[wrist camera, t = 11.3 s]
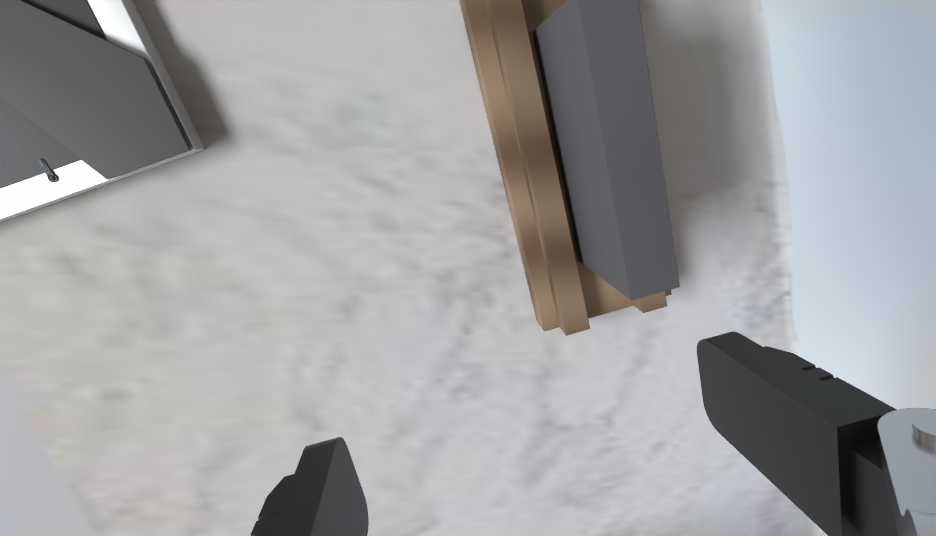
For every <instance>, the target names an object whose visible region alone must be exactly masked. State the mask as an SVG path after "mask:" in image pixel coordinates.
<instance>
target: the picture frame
mask: <svg viewBox="0 0 936 536" xmlns="http://www.w3.org/2000/svg"><path fill="white" fill-rule="evenodd" d="M202 150H205V147H204V145H203V143H202V141H201V139H200V137H199V135H198V133H197V131H196V129H195V127H194V125H193V123H192V121H191V119H190V117H189V115H188V113H187V111H186V108H185V106H184V104H183V102H182V100H181V98H180V96H179V94H178V92H177V90H176V88H175V86H174V84H173V82H172V80H171V78H170V76H169V74H168V72H167V70H166V67H165V65H164V63H163V61H162V59H161V57H160V55H159V53H158V51H157V49H156V47H155V45H154V43H153V41H152V39H151V37H150V35H149V33H148V31H147V28H146V26H145V24H144V22H143V20H142V18H141V16H140V14H139V12H138V10H137V8H136V6H135V4H134V2H133V0H0V223H1V222H3V221H6V220H9V219H12V218H15V217H18V216H20V215H23V214H26V213H29V212H32V211H34V210H37V209H40V208H43V207H46V206H48V205H51V204H54V203H57V202H60V201H62V200H65V199H68V198H71V197H74V196H76V195H79V194H82V193H85V192H88V191H90V190H93V189H96V188H99V187H102V186H104V185H107V184H110V183H113V182H116V181H118V180H121V179H124V178H127V177H130V176H132V175H135V174H138V173H141V172H144V171H146V170H149V169H152V168H155V167H158V166H160V165H163V164H166V163H169V162H172V161H174V160H177V159H180V158H183V157H186V156H188V155H191V154H194V153H197V152H200V151H202Z"/></svg>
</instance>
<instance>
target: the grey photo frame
mask: <svg viewBox="0 0 936 536" xmlns="http://www.w3.org/2000/svg"><path fill="white" fill-rule="evenodd" d="M532 33H533V38H534V43H535V48H536V53H537V58H538V63H539V68H540V73H541V77H542V82H543V87H544V92H545V97H546V102H547V107H548V112H549V117H550V122H551V127H552V131H553V136H554V141H555V146H556V151H557V156H558V161H559V166H560V171H561V176H562V181H563V185H564V190H565V195H566V200H567V205H568V210H569V215H570V220H571V225H572V230H573V234H574V239H575V244H576V249H577V254H578V259H579V261H580V262H581V263H582V264H584V265H585V266H586V267H588V268H589V269H590V270H591V271H593V272H594V273H595V274H597V275H598V276H599V277H601V278H602V279H603V280H605V281H606V282H607V283H609V284H610V285H611V286H613V287H614V288H615V289H616V290H618V291H619V292H620V293H622V294H623V295H624V296H626V297H627V298H628V299H630V300H631V301H632V300H636V299H639V298H643V297H646V296H650V295H653V294H656V293H660V292H663V291H667V290H670V289H674V288H677V287H680V286H679V279H678V272H677V265H676V258H675V251H674V244H673V237H672V231H671V224H670V217H669V210H668V203H667V196H666V189H665V182H664V175H663V168H662V161H661V155H660V148H659V141H658V134H657V127H656V120H655V113H654V106H653V99H652V92H651V86H650V79H649V72H648V65H647V58H646V51H645V44H644V37H643V30H642V23H641V16H640V10H639V3H638V0H567V1H566V2H564V3H563V4H562V5H561V6H560V7H559V8H558V9H557V10H556V11H555V12H553V13H552V14H551V15H550V16H549V17H548V18H547V19H546V20H545V21H544V22H542V23H541V24H540V25H539V26H538V27H537V28H536V29H535V30H534V31H533V32H532Z"/></svg>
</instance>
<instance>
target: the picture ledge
mask: <svg viewBox="0 0 936 536" xmlns="http://www.w3.org/2000/svg"><path fill="white" fill-rule="evenodd" d="M566 1H567V0H459V2H460V6H461V10H462V14H463V18H464V22H465V26H466V31H467V35H468V39H469V43H470V47H471V51H472V55H473V59H474V64H475V68H476V72H477V76H478V80H479V84H480V88H481V92H482V96H483V101H484V105H485V109H486V113H487V117H488V121H489V125H490V129H491V134H492V138H493V142H494V146H495V150H496V154H497V158H498V162H499V166H500V171H501V175H502V179H503V183H504V187H505V191H506V195H507V199H508V204H509V208H510V212H511V216H512V220H513V224H514V228H515V232H516V236H517V241H518V245H519V249H520V253H521V257H522V261H523V265H524V269H525V274H526V278H527V282H528V286H529V290H530V294H531V298H532V302H533V306H534V311H535V315H536V319H537V321H538V323H539V325H540V326H541V328H542V329H543V331H547V330H551V329H554V328H557V327H560V328H561V329H562V330H563V332H564V333H565V334H566V336H567V335H570V334H574V333H577V332H580V331H584V330H587V329H590V325H589V321H588V318H592V317H595V316H599V315H602V314H606V313H609V312H612V311H616V310H619V309H623V308H626V307H630V306H633V305H634V306H635V307H636V308H638V309H639V310H640V311H641V312H643V313H645V312H649V311H652V310H656V309H659V308H663V307H666V306H667V302H666V296H667V295H671V289H670V290H667V291H663V292H660V293H656V294H653V295H650V296H646V297H643V298H639V299H636V300H632V301H631V300H630V299H628V298H627V297H626V296H624V295H623V294H622V293H620V292H619V291H618V290H616V289H615V288H614V287H613V286H611V285H610V284H609V283H607V282H606V281H605V280H603V279H602V278H601V277H599V276H598V275H597V274H595V273H594V272H593V271H591V270H590V269H589V268H588V267H586V266H585V265H584V264H582V263H581V262H580V261H579V259H578V254H577V249H576V244H575V239H574V234H573V230H572V225H571V220H570V215H569V210H568V205H567V200H566V195H565V190H564V185H563V181H562V176H561V171H560V166H559V161H558V156H557V151H556V146H555V141H554V136H553V131H552V127H551V122H550V117H549V112H548V107H547V102H546V97H545V92H544V87H543V82H542V77H541V73H540V68H539V63H538V58H537V53H536V48H535V43H534V38H533V33H532V32H533V31H534V30H535V29H536V28H537V27H538V26H539V25H540V24H541V23H542V22H544V21H545V20H546V19H547V18H548V17H549V16H550V15H551V14H552V13H553V12H555V11H556V10H557V9H558V8H559V7H560V6H561V5H562V4H563V3H564V2H566Z"/></svg>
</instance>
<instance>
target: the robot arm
mask: <svg viewBox="0 0 936 536" xmlns="http://www.w3.org/2000/svg"><path fill="white" fill-rule="evenodd" d="M697 356H698V364H699V372H700V380H701V387H702V395H703V403H704V407H705V410H706V413H707V415H708V418H709V420H710V421H711V423H712V425H713V426H714V428H715V429H716V430H717V431H718V432H719V433H720V434H721V435H722V436H723V437H724V438H725V439H726V440H727V441H728V442H729V443H730V444H732V445H733V446H734V447H735V448H736V449H737V450H738V451H739V452H740V453H741V454H742V455H743V456H744V457H745V458H746V459H747V460H749V461H750V462H751V463H752V464H753V465H754V466H755V467H756V468H757V469H758V470H759V471H760V472H761V473H762V474H763V475H764V476H765V477H767V478H768V479H769V480H770V481H771V482H772V483H773V484H774V485H775V486H776V487H777V488H778V489H779V490H780V491H781V492H782V493H784V494H785V495H786V496H787V497H788V498H789V499H790V500H791V501H792V502H793V503H794V504H795V505H796V506H797V507H798V508H799V509H801V510H802V511H803V512H804V513H805V514H806V515H807V516H808V517H809V518H810V519H811V520H812V521H813V522H814V523H815V524H816V525H818V526H819V527H820V528H821V529H822V530H823V531H824V532H825V533H826V534H827V535H828V536H936V409H928V408H907V409H900V410H896V409H895V408H893V407H891V406H889V405H887V404H885V403H883V402H882V401H880V400H878V399H876V398H874V397H872V396H871V395H869V394H867V393H865V392H863V391H861V390H860V389H858V388H856V387H854V386H852V385H850V384H848V383H846V382H845V381H843V380H841V379H839V378H838V377H837V378H834V377H833V375H832V374H830V373H828V372H826V371H825V370H823V369H821V368H816V367H815V365H814V364H812V363H810V362H808V361H806V360H804V359H803V358H801V357H799V356H797V355H795V354H793V353H790V352H786V351H782V350H778V349H775V348H771V347H767V346H766V347H762V346H760V345H759V344H757V343H755V342H753V341H752V340H750V339H748V338H746V337H745V336H743V335H741V334H739V333H737V332H729V333H726V334H722V335H718V336H714V337H711V338H707V339H703V340H701V341H699V342H698V345H697ZM258 518H259V521H256V524H255V526H254V528H253V530H252V533H251V536H367V533H368V510H367V504H366V500H365V496H364V493H363V490H362V487H361V485H360V482H359V479H358V476H357V473H356V470H355V467H354V465H353V462H352V459H351V456H350V453H349V450H348V447H347V445H346V443H345V441H344V439H343V438H341V437H338V438H334V439H331V440H327V441H323V442H320V443H316V444H312V445H309V446H306V447H305V448H304V451H303V453H302V456H301V458H300V461H299V464H298V466H297V469H296V472H295V474H293V475H289V476H286V477H284V478H283V479H282V480H281V481H280V482H279V484H278V485H277V486H276V487H275V488H274V489H273V491H272V492H271V493H270V494H269V495H268V496H267V498H266V500H265V503H264V505H263V507H262V510H261V512H260V514H259V517H258Z"/></svg>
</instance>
